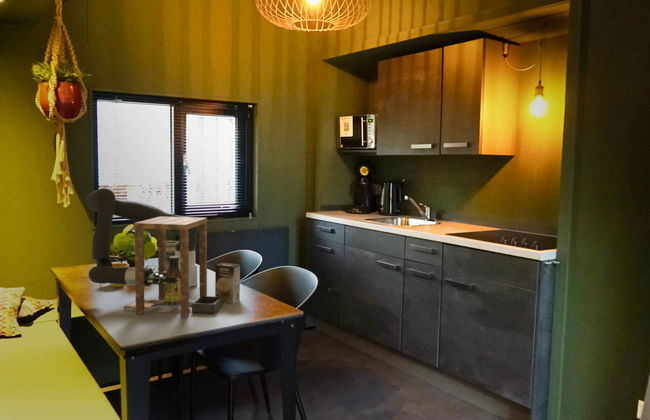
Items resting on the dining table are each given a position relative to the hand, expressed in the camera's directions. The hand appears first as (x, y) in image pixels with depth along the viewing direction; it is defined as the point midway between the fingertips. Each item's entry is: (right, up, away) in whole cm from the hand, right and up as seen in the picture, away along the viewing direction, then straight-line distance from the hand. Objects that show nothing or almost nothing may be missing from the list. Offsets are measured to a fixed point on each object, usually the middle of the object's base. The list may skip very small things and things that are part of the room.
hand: (178, 278), depth 224 cm
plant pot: (-39, -8, +39) cm, 56 cm away
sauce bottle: (-3, -11, +1) cm, 11 cm away
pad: (-17, -12, +3) cm, 21 cm away
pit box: (+12, -13, 0) cm, 17 cm away
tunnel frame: (-7, -12, +2) cm, 14 cm away
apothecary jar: (-20, -7, +61) cm, 64 cm away
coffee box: (+17, -12, +14) cm, 25 cm away
